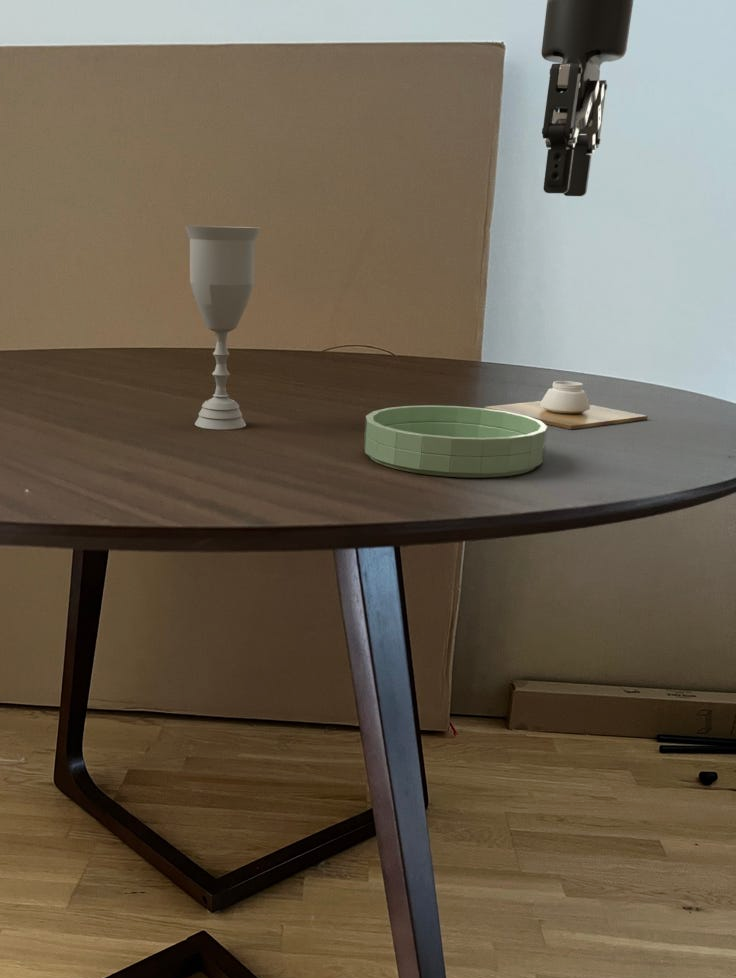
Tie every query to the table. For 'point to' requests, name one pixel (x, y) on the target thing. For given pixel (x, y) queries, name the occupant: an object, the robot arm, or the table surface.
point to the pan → (455, 441)
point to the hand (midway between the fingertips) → (565, 194)
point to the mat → (571, 415)
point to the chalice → (221, 303)
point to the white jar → (566, 398)
